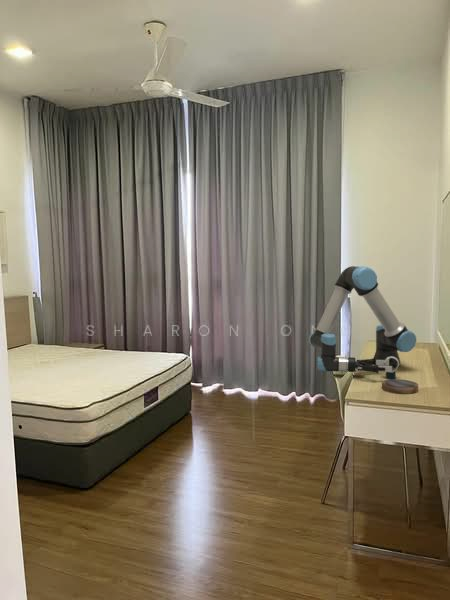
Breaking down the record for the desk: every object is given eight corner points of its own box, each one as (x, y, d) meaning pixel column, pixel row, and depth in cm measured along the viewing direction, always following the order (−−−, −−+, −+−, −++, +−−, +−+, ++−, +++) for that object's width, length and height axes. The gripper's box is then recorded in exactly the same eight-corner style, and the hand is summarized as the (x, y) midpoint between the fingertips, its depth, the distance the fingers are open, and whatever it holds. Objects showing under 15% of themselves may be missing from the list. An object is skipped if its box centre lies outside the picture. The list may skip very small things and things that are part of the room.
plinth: (393, 382, 236) (393, 376, 235) (424, 389, 223) (424, 383, 223) (375, 388, 226) (375, 382, 225) (406, 396, 213) (406, 389, 213)
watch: (382, 376, 249) (383, 355, 248) (399, 377, 246) (399, 356, 245) (381, 378, 244) (382, 357, 243) (398, 380, 241) (398, 358, 240)
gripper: (346, 366, 261) (387, 367, 256) (348, 377, 237) (393, 379, 232) (346, 352, 260) (387, 353, 256) (348, 362, 236) (393, 364, 231)
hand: (390, 365), depth 244 cm, fingers open, 13 cm apart
